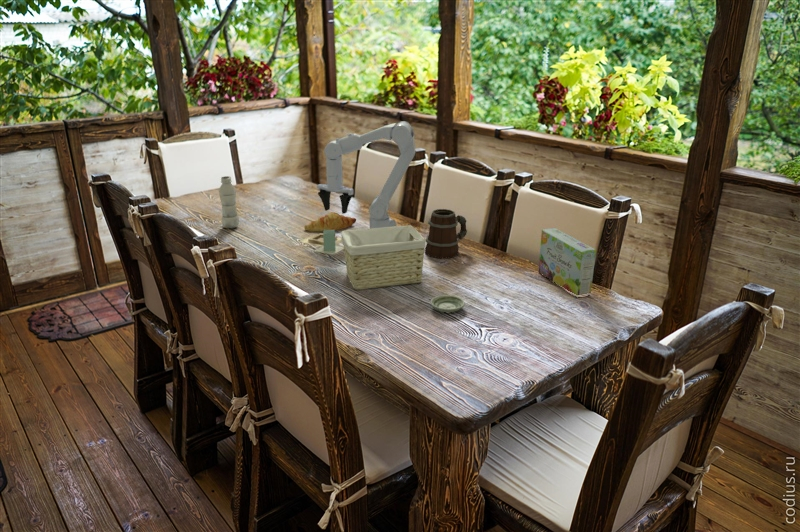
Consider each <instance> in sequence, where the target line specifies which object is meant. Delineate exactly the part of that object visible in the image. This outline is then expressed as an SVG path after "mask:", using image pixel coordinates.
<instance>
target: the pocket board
mask: <svg viewBox="0 0 800 532" xmlns="http://www.w3.org/2000/svg"><path fill="white" fill-rule="evenodd" d="M341 238H342V237H339V236H336V235H335V243H336V246H338V245H340V244H341V243H342V240H341ZM298 242H299V243H303V244H309V245H311V246H312V245H313V246H318V247H324V240H323V233H321V232H320V233H318V232H316V233H313V234H311V235H309V236H306V237H305V238H303V239H301V240H299V241H298Z"/></svg>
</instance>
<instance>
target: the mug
mask: <svg viewBox="0 0 800 532" xmlns="http://www.w3.org/2000/svg"><path fill="white" fill-rule="evenodd" d="M466 223H467V220H466V218H465V216H463V215H459V214H458V215H457V216H456V212H455V211H453V210H451V209H446V208H438V209H434V210H433V211H432V212H431V216H430V218H429V219H428V222H427V224H428V225H429V228H428V229H429V230H428V235H427V236H426V239H425V243H426V244H425V245H426V246H425V252H424V254H426V255H427V256H429V257H431V258H436V259H440V260H442V258H443V259H453V258H454V257H458V256H459V251H460V250H459V248H460V247H459V241H460V240H463V239H464V238H465V237H466V235H467V233H468V229H467V224H466ZM458 224H459V225H460V229H459V232H458V233H457V226H458Z"/></svg>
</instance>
